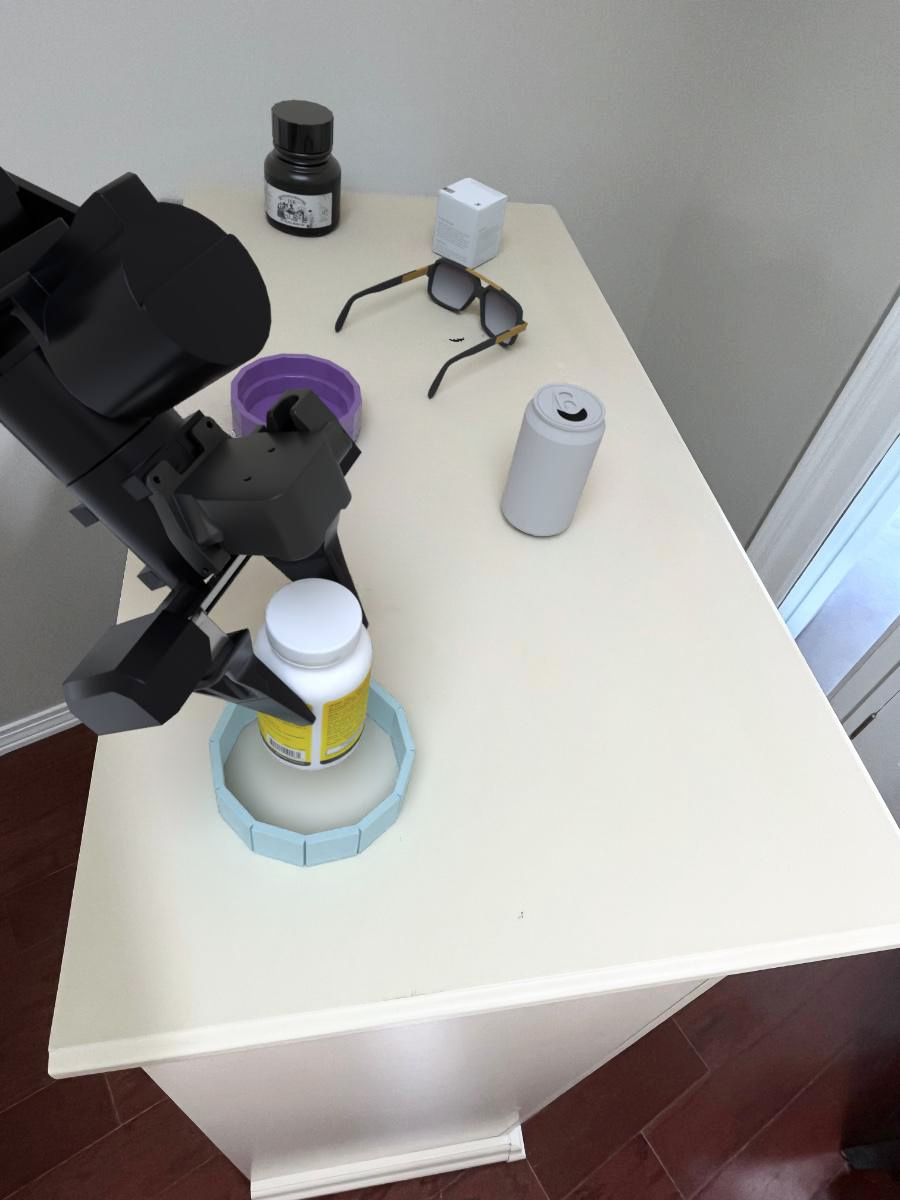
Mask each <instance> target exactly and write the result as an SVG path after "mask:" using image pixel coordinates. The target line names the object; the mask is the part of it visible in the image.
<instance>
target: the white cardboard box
mask: <svg viewBox="0 0 900 1200" xmlns="http://www.w3.org/2000/svg"><path fill="white" fill-rule="evenodd" d="M508 198H509V197H508V195H506V194H504V193H503V192H500V191H498V190H496V189H494V188H492V187H490V186H488V185H486V184H483V183H481V182H480V181H477V180H475V179H473V178H471V177H465V178H462V179H461V180H459V181H456V182H454V183H452V184H449V185H447V186H445V187H443V188H440V189H439V190H438V193H437V200H436V201H437V202H436V211H435V221H434V229H433V239H432V247H431V248H432V249H431V251H432V252H433V253H435V254H438V255H439V256H441V257H442V258H448V259H450V260H453V261H455V262H458V263H460V264H462V265H464V266H466V267H469V268H470V269H472V270H474V269H475V268H477V267H479V266H481V265H483V264H484V263H486V262H488V261H490V260H491V259H494V258H495V257H497V256H498V255H499V251H500V250H499V249H500V245H501V239H502V233H503V227H504V221H505V216H506V210H507V204H508V200H509V199H508Z"/></svg>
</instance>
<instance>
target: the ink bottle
mask: <svg viewBox="0 0 900 1200" xmlns="http://www.w3.org/2000/svg"><path fill="white" fill-rule="evenodd" d="M270 110H271V111H270V113H271V137H272V147H273V148H272V150H271V151H269V153H268V154H266V156H265V158H264V161H263V193H264V194H263V196H264V209H265V216H266V217H265V218H266V219H267V221H268V222H269V223H270V225H272V226H273V227H274V228H277V229H278V230H281V231H283V232H286V233H290V234H292V235H298V236H305V237H306V236H307V237H314V236H322V235H326V234H328V233H329V232H332V231H334V230H335V228H337V226H338V225H339V223H340V218H341V193H342V168H341V164H340V162H339V161H338V160H337V158H336V157H335V156H334V155H333V153H332V151H333V147H334V128H335V127H334V125H335V123H334V122H335V119H334V118H335V116H334V114H333V111H332V110H331V109H329V108H328V107H327V106H325V105H323V104H320V103H318V102H314V101H309V100H302V99H287V100H281V101H279V102H276V103H274V104H273V105H272V107H270Z"/></svg>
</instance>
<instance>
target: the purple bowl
mask: <svg viewBox="0 0 900 1200" xmlns="http://www.w3.org/2000/svg"><path fill="white" fill-rule="evenodd" d="M306 388H310V389H311V390H312V391H313V392H314V393H315V394H316V395H317V396H318V397H319V398H320V399H321V400H322V401H323V403H324V404H325V405H326V406H327V407H328V408H329V409H330V410H331V411H332V412H333V413H334V415H335V416H336V417H337V418H338V420H339V422H340V425H341V426H342V427H343V428H344V430H345V431H346V432H347V434H348V435H349V436H350V438H351V439H352V440H353V441H354V442H356V440H357V438H358V436H359V434H360V431H361V419H362V403H363V399H362V392H361V391H362V390H361V386H360V384H359V383H358V381H357V380H356V379H355V377H354V376H353V375H352V373H350V371H348V369H346V368H344V367H342V366H341V365H338V364H337V363H335V362H334V361H332V360H330V359H326V358H323V357H319V356H317V355H316V356H315V355H311V354H308V353H286V352H285V353H284V352H283V353H277V354H272V355H267V356H263V357H259V358H257V359H255V360H254V361H252V362H250V363H248V364H246V365H245V366H243V367H241V368H240V369H239V370H238V372H237V373H236V374H235V376H234V377H233V378H232V380H231V381H230V407H231V419H232V429H233V432H234V433H235V435H236V437H237V438H240V437H246V436H248V435H249V434H250V433H251V432H252V431H253V430H254V428H255V427H256V426H257V425H261V424H264V425H265V426H266V414H267V411H268V410H269V409H270V408H271V406H272V405H273V404H274V403H275V402H276V401H277V400H278V399H279V397H280V396H281V395H282V394H283V393H284V392H285V391H286V390H290V389H306Z"/></svg>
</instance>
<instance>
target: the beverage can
mask: <svg viewBox="0 0 900 1200" xmlns="http://www.w3.org/2000/svg"><path fill="white" fill-rule="evenodd" d="M533 394H534V395H533V397H532V399H530V400H529V401H528V403H527V404H526V406H525V408H524V412H523V417H522V421H521V424H520V429H519V432H518V436H517V438H516V439H517V440H516V444H515V448H514V451H513V455H512V459H511V462H510V466H509V471H508V474H507V478H506V482H505V486H504V490H503V492H502V497H501V501H500V507H501V511H502V514H503V515H504V517H505V520H507V521H508V522H509V523H510V525H512V526H513V527H514V528H516V529H518V530H519V531H521V532H523V533H525V534H526V535H527V534H528V535H530V536H534V537H548V536H549V537H550V536H554V535H558V534H561V533H562V532H565V531H566V530H567V529H568V528H569V527H570V525H571V524H572V522H573V519H574V517H575V514H576V511H577V509H578V505H579V503H580V500H581V497H582V494H583V491H584V489H585V486H586V483H587V481H588V479H589V476H590V472H591V471H592V468H593V465H594V461H595V459H596V457H597V453H598V451H599V448H600V446H601V442H602V440H603V437H604V434H605V432H606V429H607V427H606V426H607V425H606V421H605V417H606V412H607V411H606V406H605V405H604V402H603V401H602V400H601V399H600V397H598V396H597V395H596V394H595V393H593V392H592V391H590V390H589V389H587V388H585V387H582V386H581V385H577V384H573V383H568V382H552V383H547V384H544V385H542V386H541V387H539V388H538V389H537V390H536V391H535V393H533Z"/></svg>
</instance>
